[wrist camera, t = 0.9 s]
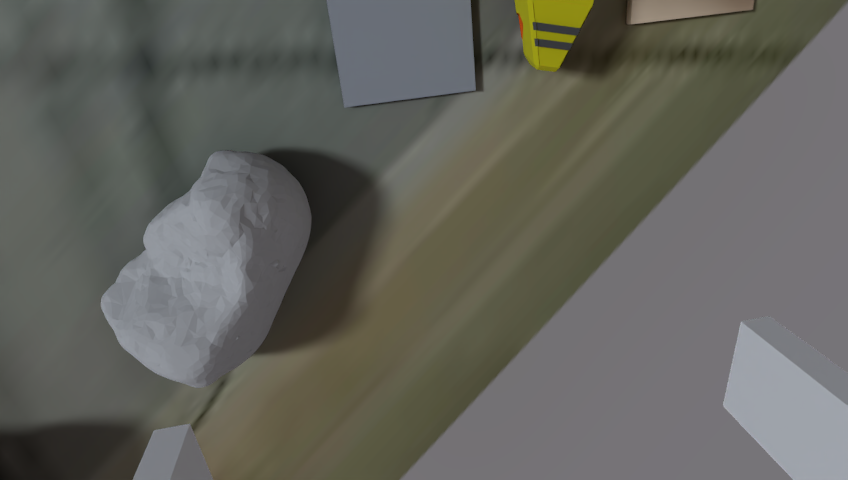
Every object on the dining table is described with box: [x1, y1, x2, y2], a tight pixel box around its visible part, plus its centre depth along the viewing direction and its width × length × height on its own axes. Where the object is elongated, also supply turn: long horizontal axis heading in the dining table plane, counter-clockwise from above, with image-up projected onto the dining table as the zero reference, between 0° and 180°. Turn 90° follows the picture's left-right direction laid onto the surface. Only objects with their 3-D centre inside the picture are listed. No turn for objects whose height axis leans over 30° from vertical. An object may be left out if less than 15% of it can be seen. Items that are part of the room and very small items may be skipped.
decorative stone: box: [101, 150, 312, 388], centre depth 34 cm, size 17×10×10 cm
